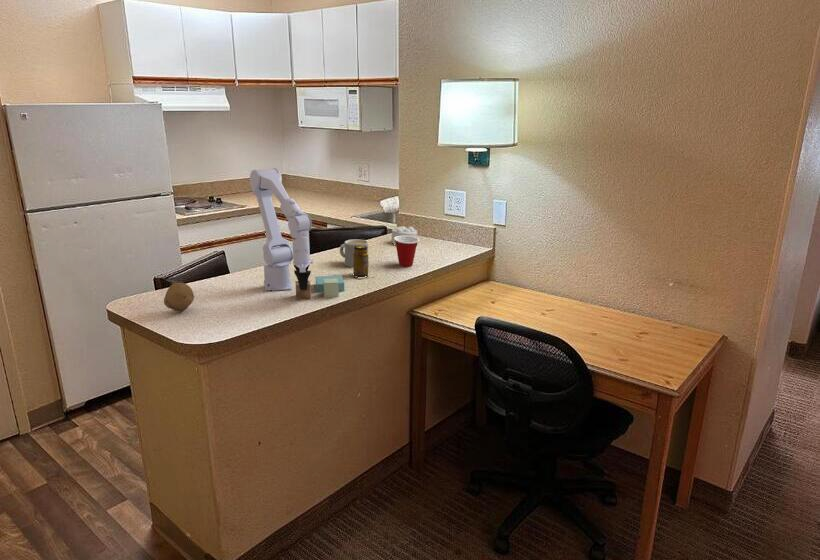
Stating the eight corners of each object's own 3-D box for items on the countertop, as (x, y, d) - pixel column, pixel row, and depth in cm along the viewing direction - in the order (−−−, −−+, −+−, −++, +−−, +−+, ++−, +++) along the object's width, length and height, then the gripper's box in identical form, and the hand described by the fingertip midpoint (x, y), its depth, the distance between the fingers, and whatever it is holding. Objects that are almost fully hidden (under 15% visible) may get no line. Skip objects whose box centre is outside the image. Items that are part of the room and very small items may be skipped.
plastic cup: (408, 270, 241) (409, 242, 237) (388, 265, 247) (388, 238, 243) (423, 264, 249) (424, 237, 246) (404, 260, 255) (404, 234, 252)
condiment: (365, 271, 238) (365, 243, 234) (374, 277, 231) (374, 248, 227) (349, 274, 234) (348, 245, 231) (357, 279, 227) (357, 250, 224)
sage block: (324, 297, 206) (324, 283, 205) (323, 293, 211) (323, 278, 209) (338, 296, 207) (338, 282, 206) (337, 292, 212) (337, 278, 210)
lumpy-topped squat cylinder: (404, 240, 291) (404, 224, 289) (422, 245, 282) (422, 228, 280) (388, 244, 285) (388, 226, 282) (406, 249, 276) (407, 231, 273)
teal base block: (317, 293, 212) (316, 284, 211) (315, 285, 221) (315, 276, 220) (344, 291, 214) (344, 282, 213) (341, 283, 223) (341, 275, 222)
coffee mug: (372, 264, 248) (372, 242, 246) (356, 269, 241) (355, 246, 238) (351, 258, 257) (351, 236, 254) (334, 263, 250) (334, 240, 247)
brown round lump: (201, 311, 191) (198, 283, 188) (175, 318, 185) (172, 289, 182) (187, 305, 197) (184, 277, 194) (162, 311, 190) (158, 283, 187)
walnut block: (296, 300, 203) (295, 285, 202) (296, 295, 208) (295, 281, 206) (310, 299, 204) (310, 284, 203) (310, 294, 209) (309, 280, 208)
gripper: (313, 253, 195) (315, 292, 199) (311, 244, 209) (313, 279, 213) (292, 254, 194) (294, 293, 198) (291, 244, 207) (293, 280, 211)
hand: (303, 286), depth 205 cm, fingers open, 7 cm apart
